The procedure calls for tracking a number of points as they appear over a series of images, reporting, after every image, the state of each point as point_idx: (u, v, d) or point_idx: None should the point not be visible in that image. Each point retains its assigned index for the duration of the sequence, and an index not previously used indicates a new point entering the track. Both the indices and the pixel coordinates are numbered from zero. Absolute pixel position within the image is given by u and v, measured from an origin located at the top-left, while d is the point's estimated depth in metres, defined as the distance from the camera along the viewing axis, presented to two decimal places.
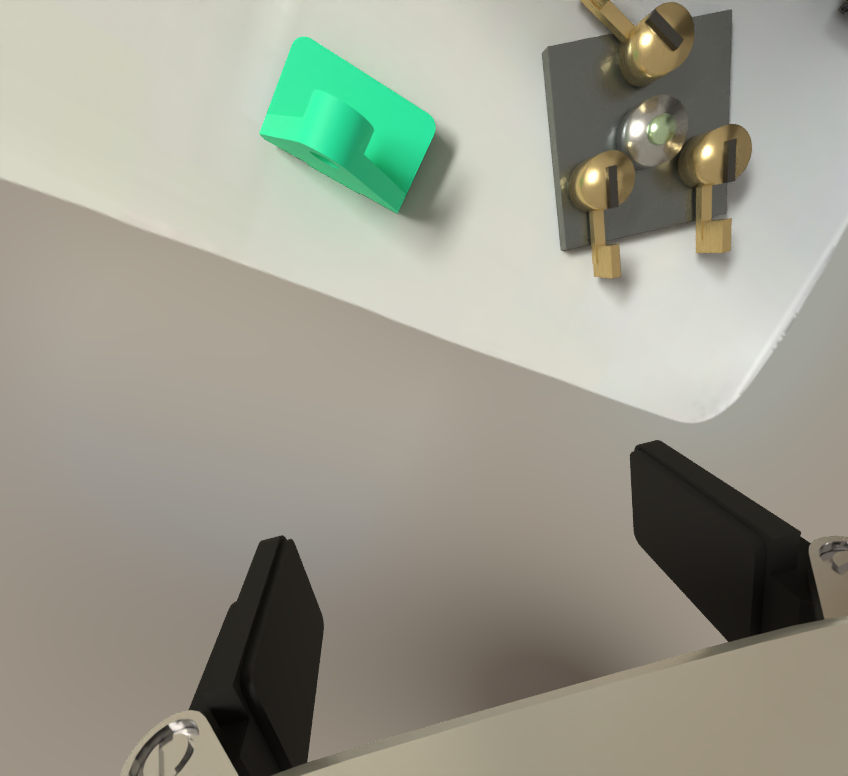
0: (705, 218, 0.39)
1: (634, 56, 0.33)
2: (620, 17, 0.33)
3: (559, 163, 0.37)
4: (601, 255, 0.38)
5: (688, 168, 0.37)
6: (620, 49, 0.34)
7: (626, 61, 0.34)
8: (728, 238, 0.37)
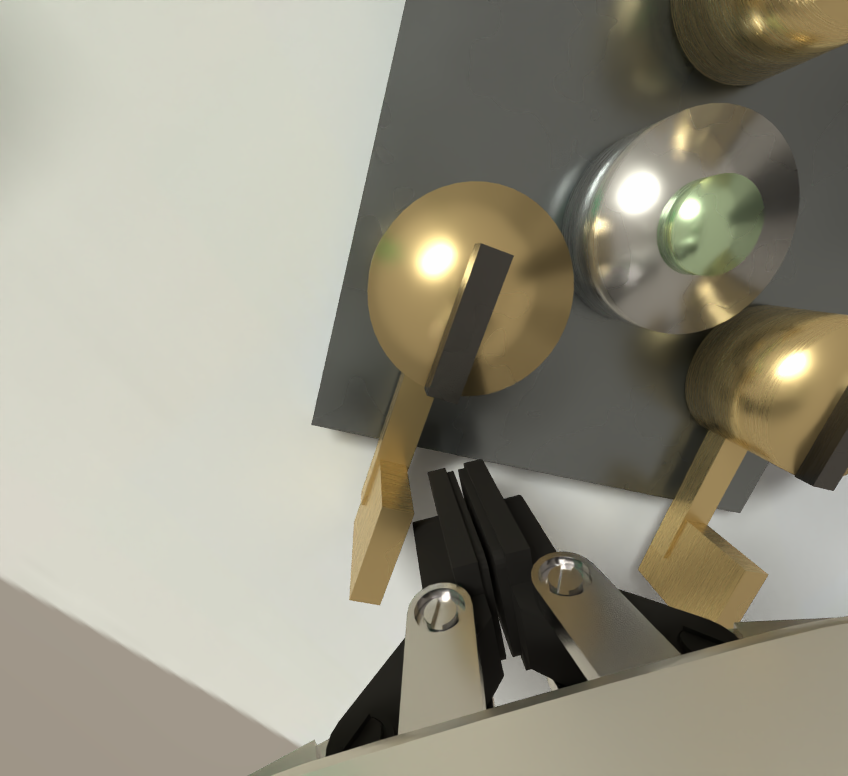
0: (696, 515, 0.14)
1: None
2: None
3: (374, 165, 0.11)
4: (371, 498, 0.11)
5: (720, 380, 0.12)
6: None
7: None
8: (734, 618, 0.12)
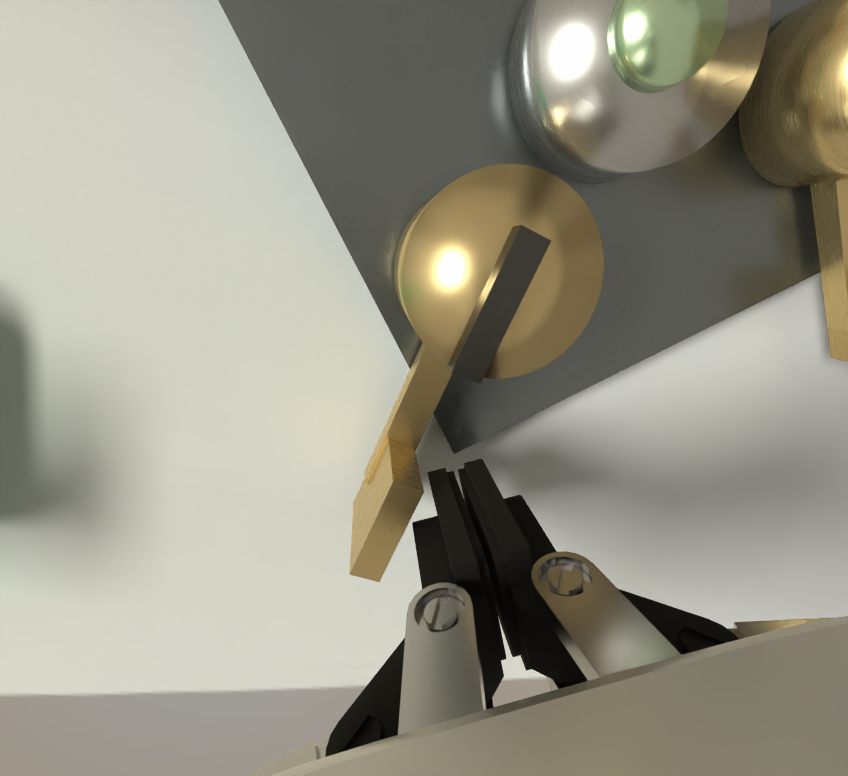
0: None
1: None
2: None
3: (346, 235, 0.11)
4: (378, 476, 0.11)
5: (787, 138, 0.10)
6: None
7: None
8: None
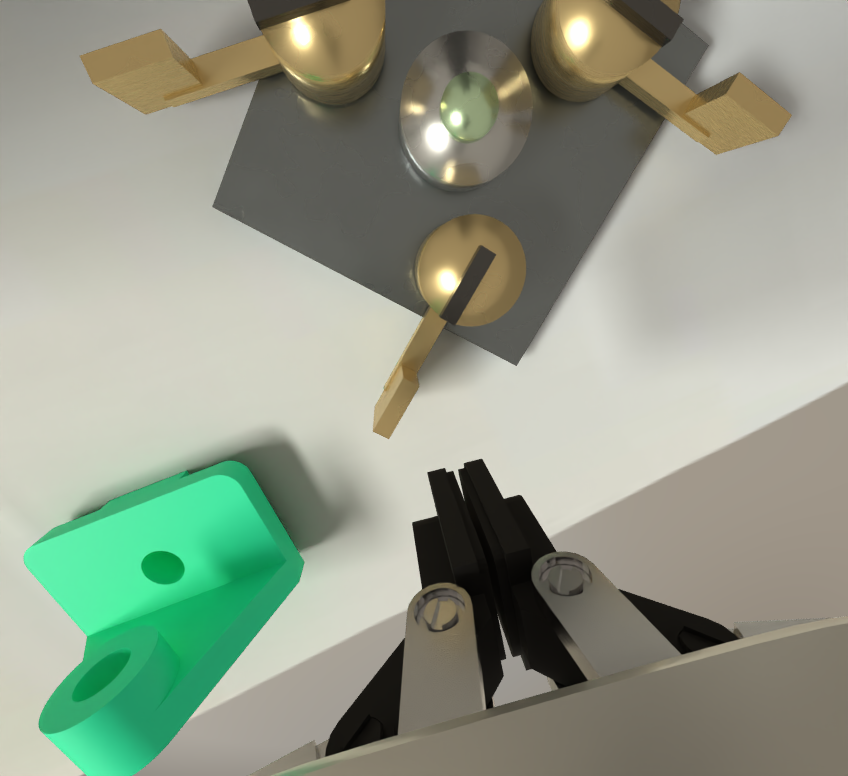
0: (682, 104, 0.18)
1: (311, 82, 0.15)
2: (237, 52, 0.16)
3: (390, 296, 0.20)
4: (393, 383, 0.19)
5: (574, 87, 0.17)
6: (292, 82, 0.17)
7: (314, 92, 0.16)
8: (766, 104, 0.16)
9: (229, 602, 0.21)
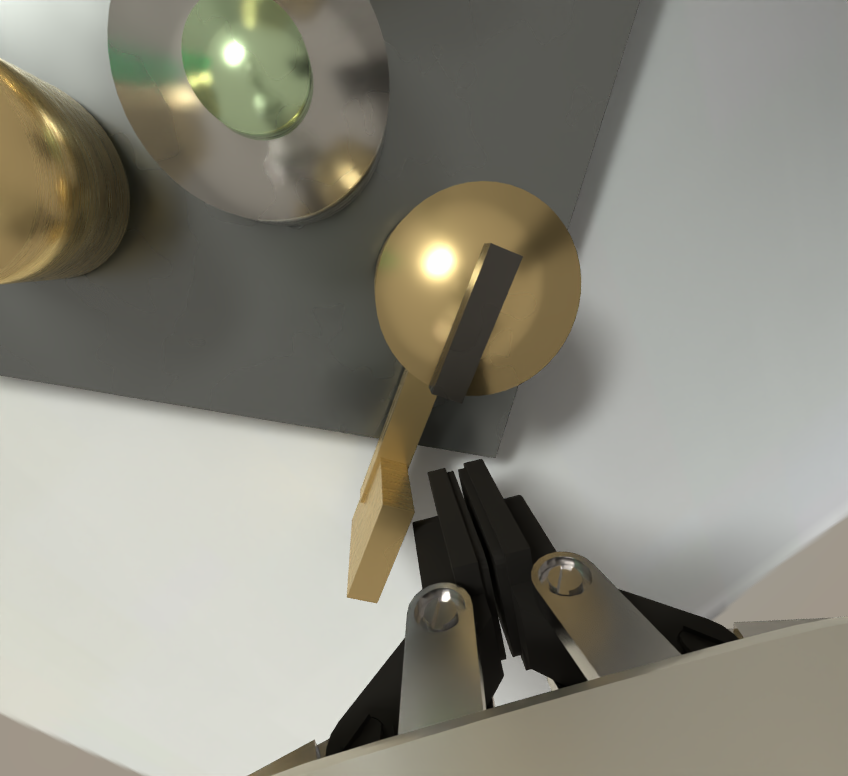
0: (392, 452, 0.12)
1: None
2: None
3: None
4: None
5: (375, 274, 0.10)
6: None
7: None
8: (382, 565, 0.10)
9: None
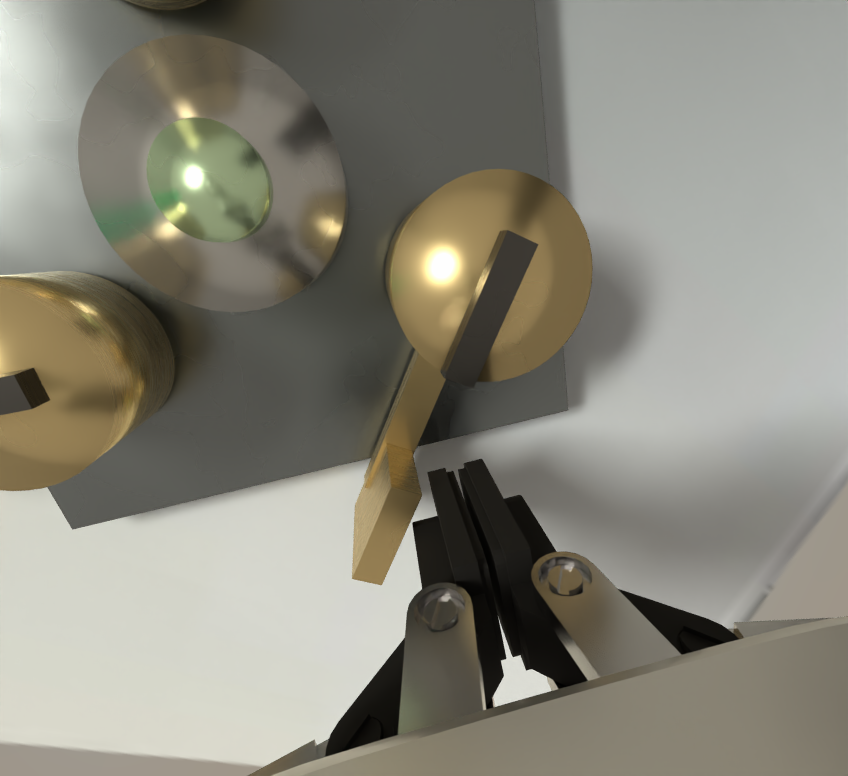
0: (398, 438, 0.12)
1: None
2: None
3: None
4: None
5: (388, 259, 0.10)
6: None
7: None
8: (388, 548, 0.10)
9: None
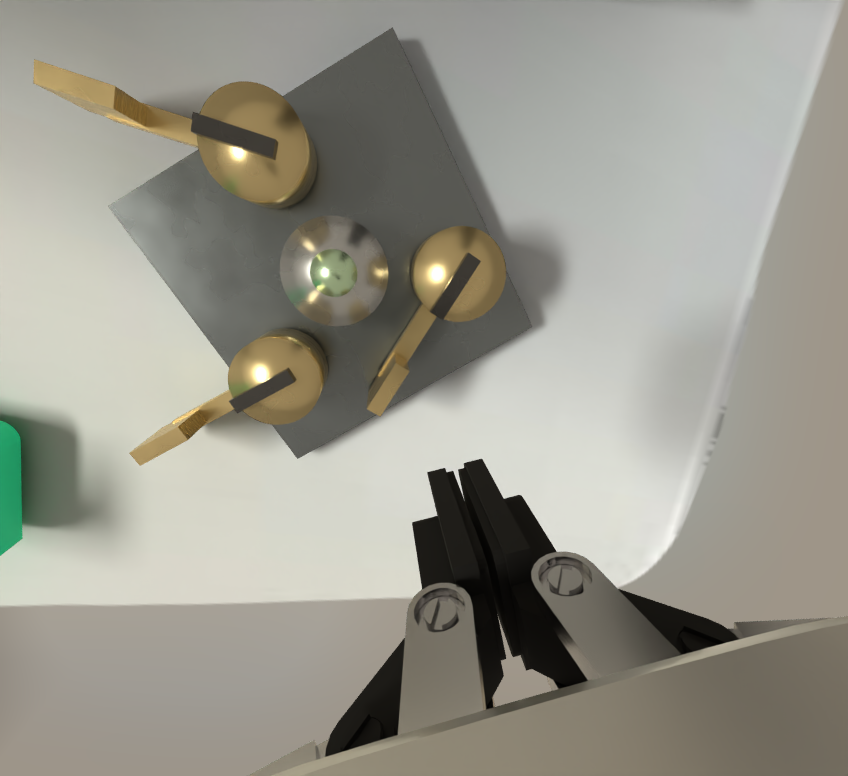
0: (401, 351, 0.23)
1: None
2: (187, 124, 0.19)
3: (223, 354, 0.23)
4: (178, 422, 0.22)
5: (415, 256, 0.21)
6: None
7: None
8: (388, 396, 0.21)
9: None
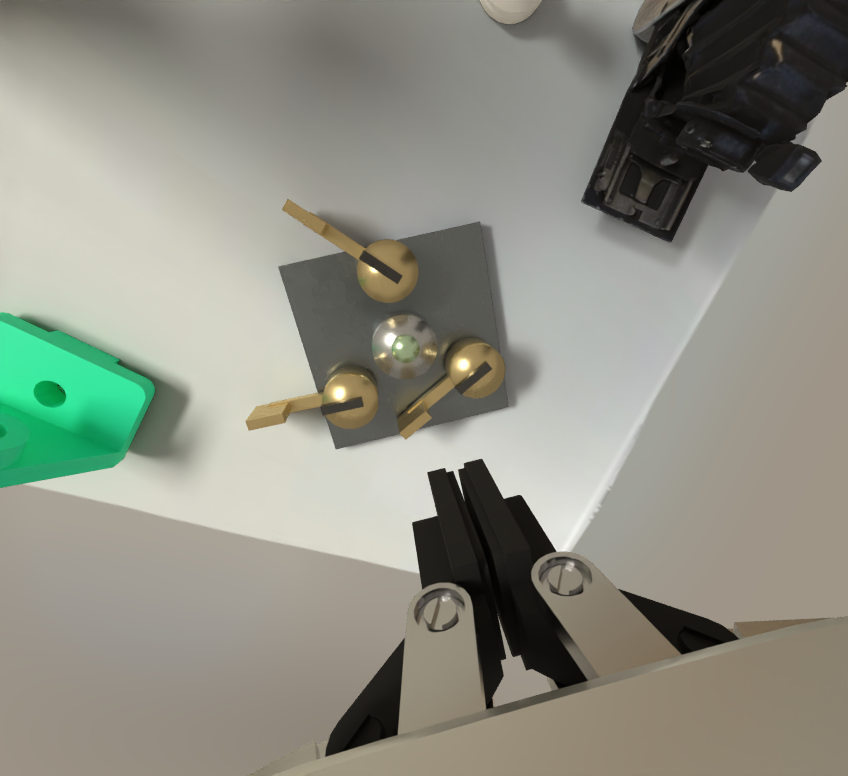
0: (426, 401, 0.36)
1: None
2: (348, 241, 0.31)
3: (313, 371, 0.35)
4: (275, 408, 0.33)
5: (453, 350, 0.34)
6: None
7: None
8: (414, 428, 0.34)
9: (70, 447, 0.31)
